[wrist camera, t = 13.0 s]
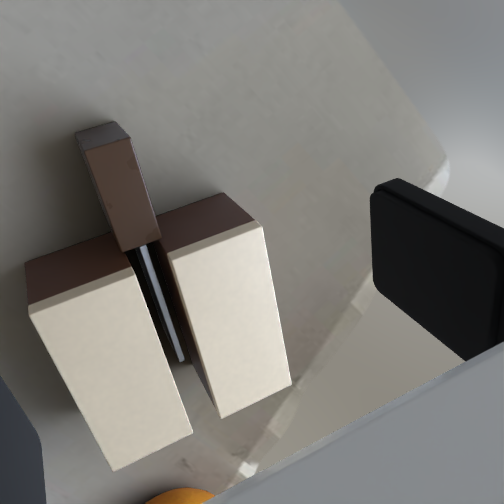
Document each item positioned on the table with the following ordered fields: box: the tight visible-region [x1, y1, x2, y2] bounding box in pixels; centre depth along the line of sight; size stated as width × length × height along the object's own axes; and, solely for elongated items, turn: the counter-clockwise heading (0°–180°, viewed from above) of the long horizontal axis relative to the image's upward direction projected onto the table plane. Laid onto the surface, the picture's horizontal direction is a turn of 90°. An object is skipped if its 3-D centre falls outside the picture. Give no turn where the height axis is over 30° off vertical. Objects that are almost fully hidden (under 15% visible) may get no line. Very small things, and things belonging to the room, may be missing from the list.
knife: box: [75, 122, 185, 362], centre depth 29 cm, size 15×2×4 cm, turn 11°
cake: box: [25, 193, 291, 472], centre depth 31 cm, size 13×13×6 cm
